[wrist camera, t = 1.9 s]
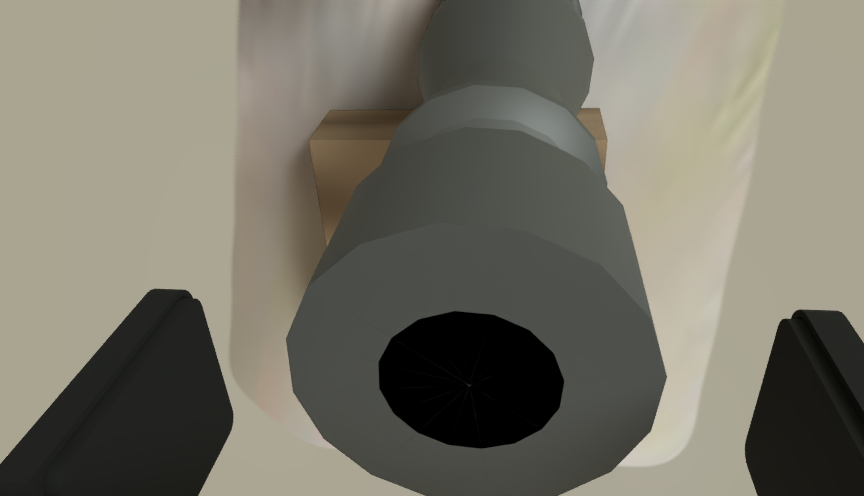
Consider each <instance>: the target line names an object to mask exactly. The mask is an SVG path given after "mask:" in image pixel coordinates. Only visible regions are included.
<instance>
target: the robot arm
mask: <svg viewBox="0 0 864 496" xmlns="http://www.w3.org/2000/svg"><path fill="white" fill-rule="evenodd" d="M232 425H233V410H232V406H231V403H230V400H229V396H228V393H227V390H226V386H225V382H224V379H223V376H222V372H221V369H220V365H219V362H218V359H217V355H216V352H215V348H214V345H213V342H212V339H211V335H210V331H209V328H208V325H207V322H206V318H205V314H204V311H203V307H202V305H201V302H200V301H199V300H198V299H193V297H192V295H191V294H190V293H189V292H188V291H186V290H174V289H153V290H150V291H149V292H148V293H147V294H146V295H145V296H144V297H143V298H142V300H141V301H140V302H139V303H138V304H137V305H136V307H135V308H134V309H133V310H132V311H131V313H130V314H129V315H128V316H127V317H126V318H125V320H124V321H123V322H122V323H121V324H120V325H119V326H118V328H117V329H116V330H115V331H114V332H113V333H112V335H111V336H110V337H109V338H108V339H107V340H106V342H105V343H104V344H103V345H102V346H101V348H100V349H99V350H98V351H97V352H96V353H95V355H94V356H93V357H92V358H91V359H90V360H89V362H88V363H87V364H86V365H85V366H84V367H83V369H82V370H81V371H80V372H79V373H78V374H77V375H76V377H75V378H74V379H73V380H72V381H71V382H70V384H69V385H68V386H67V387H66V388H65V389H64V391H63V392H62V393H61V394H60V395H59V396H58V398H57V399H56V400H55V401H54V402H53V403H52V405H51V406H50V407H49V408H48V409H47V410H46V412H45V413H44V414H43V415H42V416H41V417H40V419H39V420H38V421H37V422H36V423H35V424H34V425H33V427H32V428H31V429H30V430H29V431H28V433H27V434H26V435H25V436H24V437H23V438H22V440H21V441H20V442H19V443H18V444H17V445H16V446H15V448H14V449H13V450H12V451H11V452H10V454H9V455H8V456H7V457H6V458H5V459H4V460H3V462H2V463H1V464H0V496H198V495H199V493H200V491H201V489H202V487H203V485H204V483H205V481H206V479H207V477H208V475H209V473H210V471H211V469H212V467H213V465H214V463H215V461H216V460H217V458H218V456H219V454H220V452H221V450H222V448H223V446H224V444H225V442H226V440H227V438H228V436H229V434H230V431H231V429H232ZM745 457H746V463H747V466H748V469H749V472H750V475H751V478H752V481H753V484H754V486H755V489H756V492H757V495H758V496H864V343H863V342H862V340H861V339H860V337H859V336H858V334H857V333H856V331H855V330H854V328H853V327H852V325H851V324H850V322H849V321H848V320H847V318H846V316H845V315H844V314H843V313H842V312H839V311H826V310H797V311H795V312H794V314H793V315H792V318H791V319H782V320H781V322H780V323H779V326H778V329H777V332H776V336H775V340H774V343H773V347H772V350H771V354H770V357H769V361H768V364H767V368H766V371H765V375H764V378H763V382H762V386H761V389H760V392H759V396H758V400H757V403H756V407H755V410H754V414H753V418H752V421H751V424H750V428H749V431H748V435H747V439H746V443H745Z"/></svg>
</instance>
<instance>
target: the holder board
mask: <svg viewBox="0 0 864 496" xmlns="http://www.w3.org/2000/svg"><path fill="white" fill-rule="evenodd" d="M413 111H414V110H330V111H329V113H328V114H327V115H326V117H325V118H324V120H323V121H322V122H321V124H320V125H319V127H318V128H317V129H316V131H315V132H314V134H313V135H312V136H311V138H310V139H309V145H310V151H311V157H312V163H313V169H314V175H315V181H316V187H317V193H318V198H319V204H320V210H321V216H322V222H323V228H324V234H325V240H326V246H328V244H329V242H330V240H331V238H332V236H333V234H334V231H335V229H336V227H337V225H338V223H339V221H340V219H341V217H342V215H343V213H344V211H345V209H346V207H347V205H348V203H349V201H350V199H351V197H352V195H353V192H354V190H355V188H356V186H357V185H358V184H359V183H360V182H361V181H362V180H363V179H365V178H366V177H367V176H368V175H369V174H370V173H371V172H373V171H374V170H375V169H376V168H377V167H378V166H380V165H381V163H382V160H383V158H384V156H385V153H386V151H387V149H388V146H389V144H390V142H391V140H392V137H393V135H394V133H395V130H396V128H397V126H398V124H399V123H401V122H402V121H403V120H404V119H405V118H406V117H407V116H408V115H410V114H411V113H412V112H413ZM576 117H577V118H578V119H579V120H580V121H581V122H582V123H583V125H584V126H585V127H586V128H587V129H588V130H589V132H590V133H591V134H592V135H593V136H594V138H595V140H596V144H597V148H598V151H599V155H600V159H601V162H602V166H603V169H604V171H605V161H606V150H607V136H606V132H605V128H604V124H603V120H602V116H601V112H600V108H580V110H579V112H578V114H577V116H576Z"/></svg>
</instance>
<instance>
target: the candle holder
mask: <svg viewBox="0 0 864 496" xmlns="http://www.w3.org/2000/svg"><path fill="white" fill-rule="evenodd" d="M593 62H594V57H593V53H592V49H591V45H590V41H589V37H588V34H587V30H586V26H585V22H584V19H583V18H582V11H581V7H580V3H579V0H441V3H440V5H439V8H438V9H437V10H436V11H435V12H434V13H433V15H432V17H431V20H430V22H429V24H428V27H427V29H426V32H425V34H424V36H423V39H422V41H421V43H420V46H419V48H418V85H419V88H420V92H421V95H422V99H423V103H422V104H421V105H420V106H418V107H417V108H416V109H415V110H414V111H413V112H412V113H411V114H410V115H408V116H407V117H406V118H405V119H404V120H403V121H402V122H401V123H399V124H398V126H397V128H396V130H395V133H394V135H393V137H392V140H391V142H390V144H389V146H388V149H387V151H386V153H385V156H384V158H383V160H382V163H381V165H380V166H378V167H377V168H376V169H375V170H374V171H373V172H371V173H370V174H369V175H368V176H367V177H366V178H365V179H363V180H362V181H361V182H360V183H359V184H358V185H357V186H356V188H355V190H354V192H353V195H352V197H351V199H350V201H349V203H348V205H347V207H346V209H345V211H344V213H343V215H342V217H341V219H340V221H339V223H338V225H337V227H336V229H335V231H334V234H333V236H332V238H331V240H330V242H329V244H328V246H327V248H326V250H325V252H324V254H323V256H322V258H321V260H320V262H319V264H318V266H317V268H316V270H315V273H314V275H313V277H312V279H311V281H310V283H309V285H308V287H307V289H306V292H305V294H304V297H303V299H302V302H301V304H300V306H299V309H298V311H297V314H296V316H295V318H294V321H293V323H292V326H291V328H290V331H289V333H288V335H287V338H286V342H287V350H288V357H289V365H290V372H291V379H292V387H293V392H294V394H295V395H296V397H297V399H298V400H299V402H300V403H301V405H302V406H303V408H304V409H305V411H306V412H307V414H308V415H309V417H310V418H311V420H312V421H313V423H314V425H315V426H316V428H317V429H318V431H319V432H320V434H321V435H322V437H323V438H324V439H325V440H326V441H328V442H329V443H330V444H332V445H333V446H334V447H335V448H337V449H338V450H339V451H341V452H342V453H344V454H345V455H346V456H347V457H349V458H350V459H351V460H353V461H354V462H355V463H357V464H358V465H359V466H361V467H362V468H363V469H365V470H366V471H367V472H369V473H370V474H371V475H374V476H376V477H379V478H381V479H384V480H387V481H389V482H392V483H395V484H397V485H399V486H402V487H405V488H408V489H410V490H412V491H415V492H417V493H420V494H423V495H425V496H558V495H560V494H563V493H565V492H567V491H569V490H571V489H574V488H576V487H578V486H580V485H583V484H585V483H587V482H589V481H591V480H594V479H596V478H598V477H600V476H603V475H605V474H607V473H609V472H611V471H612V470H613V469H614V468H615V467H616V466H617V465H618V464H619V463H620V462H621V461H622V460H623V459H624V458H625V457H626V456H627V455H628V454H629V453H630V452H631V451H632V450H633V449H634V448H635V447H636V446H637V445H638V444H639V443H640V442H641V441H642V440H643V438H644V437H645V436H646V435H647V434H648V433H649V432H650V431H651V429H652V426H653V422H654V419H655V416H656V412H657V409H658V405H659V402H660V399H661V395H662V392H663V388H664V385H665V382H666V378H667V376H666V372H665V368H664V364H663V360H662V356H661V352H660V348H659V344H658V340H657V336H656V332H655V328H654V324H653V320H652V316H651V312H650V308H649V304H648V300H647V296H646V292H645V288H644V284H643V280H642V276H641V272H640V268H639V264H638V260H637V256H636V252H635V249H634V245H633V241H632V237H631V234H630V230H629V226H628V223H627V219H626V215H625V211H624V208H623V205H622V204H621V203H620V202H619V200H618V199H617V198H616V197H615V196H614V195H613V194H612V192H611V191H610V190H609V189H608V188H607V180H606V177H605V173H604V169H603V166H602V162H601V159H600V155H599V151H598V148H597V144H596V140H595V138H594V136H593V135H592V134H591V133H590V132H589V130H588V129H587V128H586V127H585V126H584V125H583V123H582V122H581V121H580V120H579V119H578V118H577V117H576V116H577V114H578V112H579V110H580V108H581V106H582V104H583V103H584V101H585V99H586V97H587V95H588V93H589V87H590V81H591V75H592V68H593Z"/></svg>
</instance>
